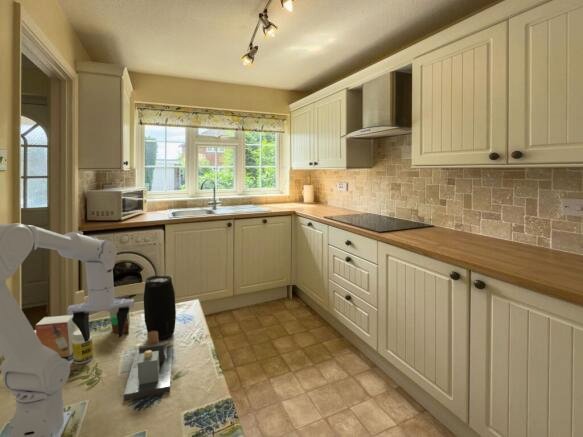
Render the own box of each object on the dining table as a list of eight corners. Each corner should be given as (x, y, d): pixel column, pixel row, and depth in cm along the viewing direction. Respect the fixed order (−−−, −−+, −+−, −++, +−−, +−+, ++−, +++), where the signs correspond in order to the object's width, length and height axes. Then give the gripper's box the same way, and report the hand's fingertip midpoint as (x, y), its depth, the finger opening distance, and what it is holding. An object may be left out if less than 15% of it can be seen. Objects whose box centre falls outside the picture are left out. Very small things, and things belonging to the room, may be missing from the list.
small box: (37, 360, 90) (34, 325, 89) (46, 350, 96) (43, 316, 94) (70, 356, 93) (67, 321, 91) (77, 346, 98) (74, 313, 97)
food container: (110, 323, 113) (108, 296, 112) (129, 320, 116) (128, 294, 114) (106, 339, 102) (104, 309, 101) (128, 336, 105) (126, 306, 103)
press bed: (170, 391, 78) (169, 381, 77) (124, 400, 75) (123, 389, 74) (173, 349, 96) (172, 341, 96) (136, 355, 93) (136, 346, 93)
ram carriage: (164, 361, 87) (162, 339, 87) (139, 365, 86) (138, 342, 85) (165, 349, 94) (164, 328, 93) (143, 352, 92) (141, 331, 91)
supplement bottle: (83, 365, 88) (81, 336, 87) (69, 363, 89) (66, 334, 88) (97, 356, 93) (95, 328, 92) (83, 354, 94) (81, 326, 93)
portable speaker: (145, 333, 106) (141, 276, 104) (174, 327, 111) (172, 272, 108) (146, 345, 99) (143, 284, 96) (178, 338, 103) (176, 279, 100)
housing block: (158, 381, 79) (157, 355, 78) (138, 384, 78) (137, 358, 77) (159, 370, 83) (158, 346, 83) (141, 374, 82) (139, 349, 81)
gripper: (134, 279, 87) (137, 326, 89) (72, 284, 82) (76, 334, 84) (130, 287, 80) (133, 339, 82) (62, 293, 76) (67, 347, 78)
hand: (104, 337), depth 83 cm, fingers open, 7 cm apart
